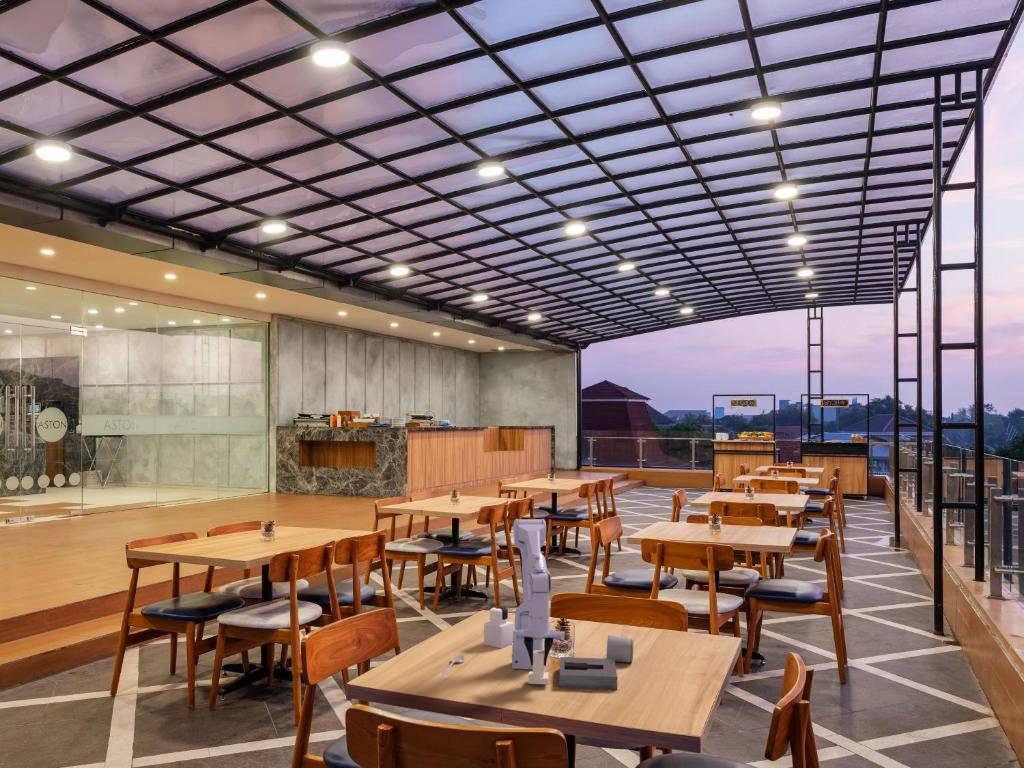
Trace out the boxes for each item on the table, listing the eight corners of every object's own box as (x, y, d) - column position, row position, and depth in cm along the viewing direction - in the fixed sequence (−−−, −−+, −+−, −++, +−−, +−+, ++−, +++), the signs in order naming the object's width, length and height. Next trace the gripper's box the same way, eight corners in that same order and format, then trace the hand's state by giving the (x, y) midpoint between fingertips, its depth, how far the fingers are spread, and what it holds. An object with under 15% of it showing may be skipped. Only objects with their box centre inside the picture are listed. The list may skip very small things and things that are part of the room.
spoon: (467, 660, 237) (467, 654, 237) (444, 681, 217) (445, 676, 218) (455, 658, 238) (455, 653, 239) (431, 680, 219) (431, 674, 219)
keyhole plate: (559, 687, 212) (559, 674, 212) (560, 668, 228) (560, 657, 228) (617, 689, 211) (617, 676, 211) (614, 670, 227) (614, 658, 227)
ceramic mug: (633, 665, 232) (633, 640, 232) (606, 664, 233) (606, 638, 234) (633, 655, 242) (633, 631, 243) (607, 654, 244) (608, 629, 244)
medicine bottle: (496, 639, 258) (496, 604, 258) (513, 643, 254) (513, 607, 254) (483, 644, 252) (483, 608, 253) (500, 648, 248) (501, 611, 248)
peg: (528, 683, 212) (528, 654, 213) (529, 676, 218) (529, 648, 218) (547, 684, 212) (548, 655, 212) (548, 677, 217) (548, 649, 218)
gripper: (512, 618, 212) (511, 668, 212) (564, 620, 211) (564, 670, 211) (514, 612, 219) (513, 660, 219) (564, 613, 218) (564, 661, 218)
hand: (538, 664), depth 215 cm, fingers closed on peg, 3 cm apart
